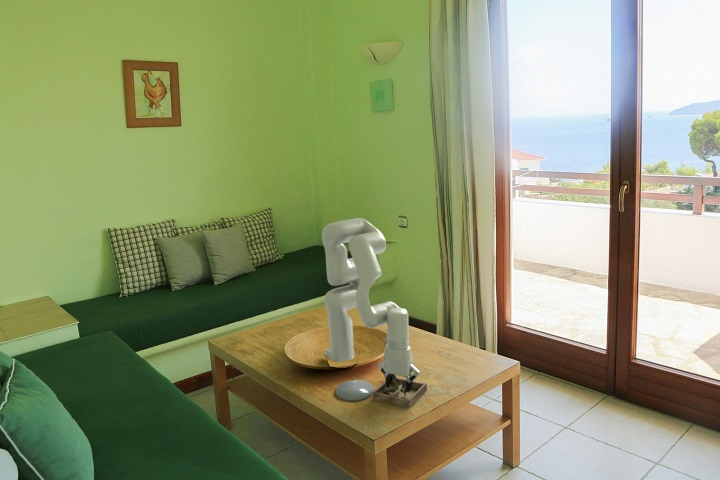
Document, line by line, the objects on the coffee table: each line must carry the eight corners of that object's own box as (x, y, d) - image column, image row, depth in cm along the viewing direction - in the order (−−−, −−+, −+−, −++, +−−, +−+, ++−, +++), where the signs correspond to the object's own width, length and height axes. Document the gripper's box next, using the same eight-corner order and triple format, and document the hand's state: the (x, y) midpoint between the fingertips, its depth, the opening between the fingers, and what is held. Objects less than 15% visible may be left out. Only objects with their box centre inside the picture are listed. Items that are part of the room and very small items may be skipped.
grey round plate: (328, 395, 212) (328, 393, 212) (348, 379, 224) (348, 377, 224) (361, 404, 205) (361, 401, 205) (380, 387, 217) (380, 384, 217)
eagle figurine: (413, 386, 213) (391, 376, 217) (410, 376, 208) (389, 367, 212) (403, 404, 209) (381, 394, 214) (400, 394, 204) (378, 384, 208)
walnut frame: (372, 398, 208) (372, 392, 208) (391, 382, 220) (390, 375, 220) (410, 407, 201) (409, 401, 201) (426, 389, 213) (426, 383, 212)
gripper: (371, 342, 208) (372, 387, 212) (416, 351, 199) (416, 398, 203) (381, 334, 214) (382, 379, 218) (425, 343, 205) (425, 389, 209)
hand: (399, 388), depth 211 cm, fingers closed on eagle figurine, 7 cm apart
